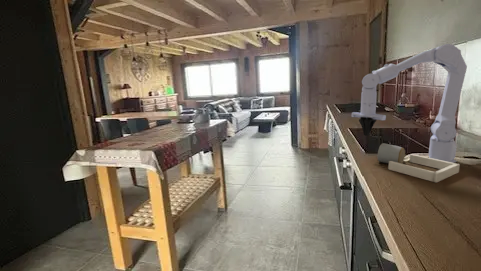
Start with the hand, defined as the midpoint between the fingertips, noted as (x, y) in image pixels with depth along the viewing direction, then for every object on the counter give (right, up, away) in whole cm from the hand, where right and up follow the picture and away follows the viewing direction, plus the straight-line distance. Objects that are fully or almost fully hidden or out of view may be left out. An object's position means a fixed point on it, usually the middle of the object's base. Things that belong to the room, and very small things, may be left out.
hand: (366, 135), depth 112 cm
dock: (+12, -13, -17) cm, 24 cm away
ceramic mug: (+6, -11, -7) cm, 15 cm away
